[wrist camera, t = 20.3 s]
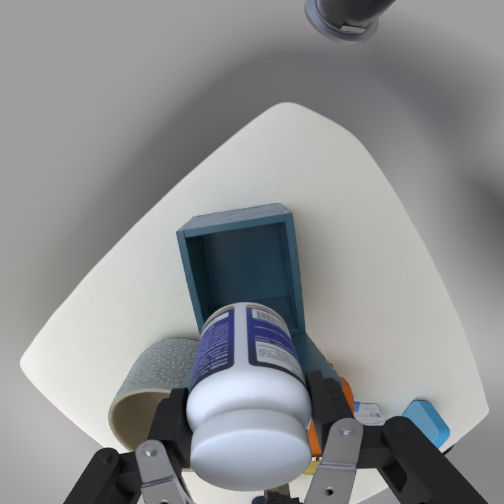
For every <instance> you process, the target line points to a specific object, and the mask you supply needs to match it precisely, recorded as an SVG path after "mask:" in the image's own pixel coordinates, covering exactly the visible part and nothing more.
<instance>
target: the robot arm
mask: <svg viewBox="0 0 504 504" xmlns="http://www.w3.org/2000/svg"><path fill="white" fill-rule="evenodd" d="M395 1H396V0H315V3H314V7H315V11H316V13H317V15H318V17H319V18H320V19H321V20H322V21H323V22H324V23H325V24H326V25H327V26H329V27H330V28H332V29H334V30H336V31H338V32H341V33H344V34H350V35H357V34H361V33H364V32H365V31H367V30H368V29H369V28H370V27H371V25H372V24H373V23H374V22H375V21H376V20H377V19H378V18H379V17H380V16H381V15H382V14H383V13H384V12H385V11H386V10H387V9H388V8H389V7H390V5H392V3H394V2H395ZM305 381H306V386H307V389H308V392H309V395H310V400H311V406H312V413H311V417H312V420H313V424H314V428H315V431H316V435H317V439H318V442H319V446H320V450H321V453H322V454H323V456H322V459H321V462H320V464H318V465H317V467H316V470H315V473H314V476H313V479H312V481H311V484H310V487H309V490H308V492H307V495H306V498H305V500H304V503H300V502H299V497H297V498H291V499H284V500H276V501H272V502H269V503H265V504H349V500H350V496H351V492H352V488H353V484H354V480H355V475H356V471H357V469H367V468H376V469H377V470H378V472H379V473H380V474H381V476H382V477H383V479H384V480H385V482H386V483H387V485H388V486H389V487H390V489H391V490H392V492H393V493H394V495H395V496H396V497H397V499H398V500H399V502H400V503H401V504H488V503H487V502H486V501H485V500H484V498H483V497H482V496H481V495H480V494H479V493H478V492H477V491H476V490H475V489H474V488H473V487H472V485H471V484H470V483H469V482H468V481H467V480H466V479H465V478H464V477H463V476H462V475H461V473H460V472H459V471H458V470H457V469H456V468H455V467H454V466H453V465H452V464H451V463H450V462H449V461H448V459H447V458H446V457H445V456H444V455H443V454H442V453H441V452H440V451H439V450H438V448H437V447H436V446H435V445H434V444H433V443H432V442H431V441H430V440H429V439H428V438H427V437H426V435H425V434H424V433H423V432H422V431H421V430H420V429H419V428H418V427H417V426H416V425H415V424H414V423H413V421H412V420H410V419H409V418H407V417H404V416H395V417H392V418H390V419H388V420H387V421H386V422H385V423H384V425H378V426H369V425H364V424H361V422H359V421H358V420H356V419H355V417H354V415H353V413H352V410H351V408H350V406H349V403H348V401H347V399H346V397H345V394H344V392H343V390H342V387H341V385H340V383H339V382H338V381H337V380H336V379H334V378H333V377H329V378H325V379H324V378H323V375H322V373H321V370H320V369H318V370H313V371H308V372H305ZM188 394H189V390H188V388H187V387H182V388H172V389H171V393H170V396H169V398H163V399H162V400H161V402H160V403H159V404H158V405H157V408H156V412H155V415H154V420H153V421H152V424H151V428H150V431H149V434H148V438H147V440H146V441H144V442H142V443H140V444H139V445H138V446H137V448H136V450H135V451H133V452H128V453H123V454H119V453H118V452H117V450H115V449H113V448H103V449H100V450H99V451H97V452H96V453H95V454H94V456H93V458H92V459H91V461H90V462H89V464H88V466H87V467H86V468H85V470H84V472H83V473H82V475H81V476H80V478H79V480H78V481H77V483H76V484H75V486H74V488H73V489H72V491H71V492H70V494H69V495H68V497H67V498H66V500H65V502H64V503H63V504H137V502H138V500H139V498H140V496H141V493H142V495H143V499H144V502H145V504H195V503H194V501H193V499H192V497H191V495H190V493H189V490H188V488H187V486H186V484H185V481H184V479H183V477H182V475H181V473H182V468H190V463H191V462H190V456H191V441H192V436H193V434H194V433H193V432H192V430H191V428H190V426H189V424H188V421H187V415H186V407H187V399H188Z"/></svg>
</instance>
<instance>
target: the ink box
mask: <svg viewBox="0 0 504 504" xmlns="http://www.w3.org/2000/svg"><path fill="white" fill-rule="evenodd" d="M354 417H355V418H356V419H357V420H358V421H359V422H361V424H364V425H369V426H378V425H384V423H385V422H386V421H385V419H384V418H383V416H382V414H381V412H380V410H379V408H378V406H377V405H376V404H362V403H354Z"/></svg>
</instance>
